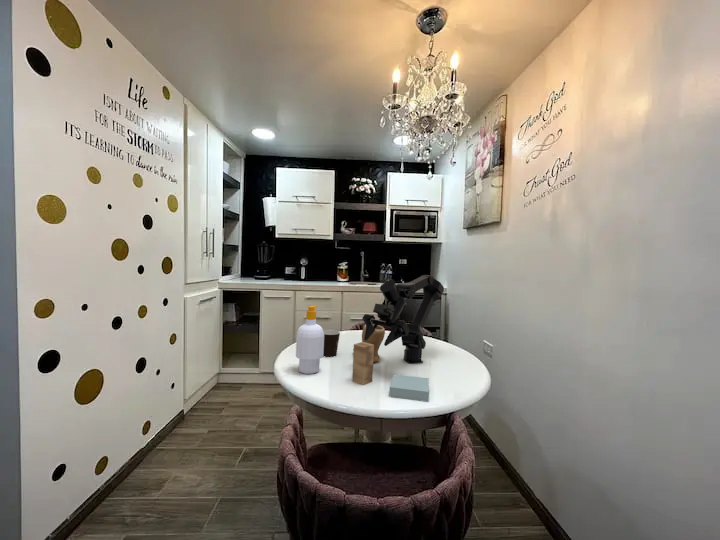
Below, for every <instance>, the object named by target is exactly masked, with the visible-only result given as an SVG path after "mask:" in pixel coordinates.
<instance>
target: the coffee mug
mask: <svg viewBox="0 0 720 540" xmlns="http://www.w3.org/2000/svg"><path fill="white" fill-rule="evenodd" d="M323 331H324V354H323V357H324V356H325V358H333V357H334V356H335V357H337V354H338V348H339V343H340V342H339V340H340V336H341V335H340V334H341V332H340V331H339V330H333V329H329V330H328V329H326V330H324V329H323Z"/></svg>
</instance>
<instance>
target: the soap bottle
mask: <svg viewBox="0 0 720 540" xmlns="http://www.w3.org/2000/svg"><path fill="white" fill-rule="evenodd" d="M317 307H318V305H312V306H311V305H309V306H307V309H308V310H306V316H305V317H306V319H305V323H304V324H302V325H300V326H299V327H298V330H297V332H296V341H295V342H296V343H295V345H296V346H295V357H296V358H297V359H299V360H298V361H299V363H298V370H299V372H300V373H302V374H304V375H312V374H316V373H318V372H319V371H320V361H321V359H322V358H323V357H324V356H323V354H324V329H323V327H322V326H321V325H320V324H317V310H316V308H317Z"/></svg>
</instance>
